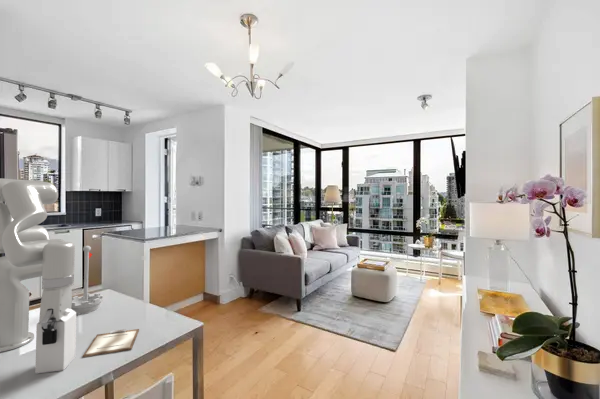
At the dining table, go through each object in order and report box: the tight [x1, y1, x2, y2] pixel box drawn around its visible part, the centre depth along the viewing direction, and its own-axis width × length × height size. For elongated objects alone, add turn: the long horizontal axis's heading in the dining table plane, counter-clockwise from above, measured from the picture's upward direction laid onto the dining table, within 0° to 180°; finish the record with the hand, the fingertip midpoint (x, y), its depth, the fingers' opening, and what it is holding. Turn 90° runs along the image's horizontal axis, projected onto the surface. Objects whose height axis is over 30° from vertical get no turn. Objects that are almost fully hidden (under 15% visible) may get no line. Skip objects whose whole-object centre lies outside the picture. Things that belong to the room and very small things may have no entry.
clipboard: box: [82, 328, 140, 358], centre depth 100 cm, size 14×15×1 cm
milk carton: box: [34, 308, 77, 374], centre depth 86 cm, size 7×7×19 cm
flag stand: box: [71, 245, 104, 315], centre depth 129 cm, size 13×13×30 cm
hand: (57, 335), depth 86 cm, fingers open, 9 cm apart
